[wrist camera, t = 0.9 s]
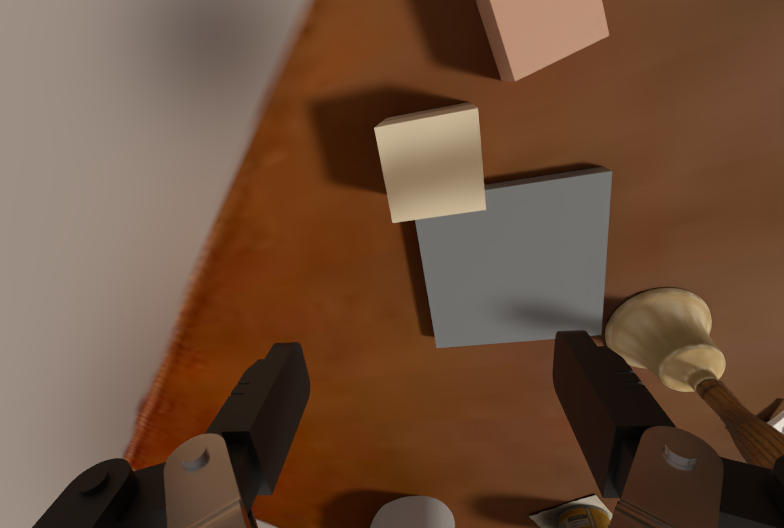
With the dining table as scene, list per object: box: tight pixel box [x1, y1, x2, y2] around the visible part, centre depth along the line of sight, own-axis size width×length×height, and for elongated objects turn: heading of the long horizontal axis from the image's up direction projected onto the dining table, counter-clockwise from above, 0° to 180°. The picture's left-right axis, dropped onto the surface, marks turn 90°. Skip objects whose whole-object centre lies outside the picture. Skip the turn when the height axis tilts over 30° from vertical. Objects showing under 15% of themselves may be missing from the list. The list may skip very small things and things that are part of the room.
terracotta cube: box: [476, 0, 609, 81], centre depth 22 cm, size 5×5×5 cm
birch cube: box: [374, 102, 486, 223], centre depth 25 cm, size 6×6×6 cm
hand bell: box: [605, 288, 784, 469], centre depth 25 cm, size 8×8×16 cm
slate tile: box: [415, 166, 612, 348], centre depth 31 cm, size 14×14×2 cm
